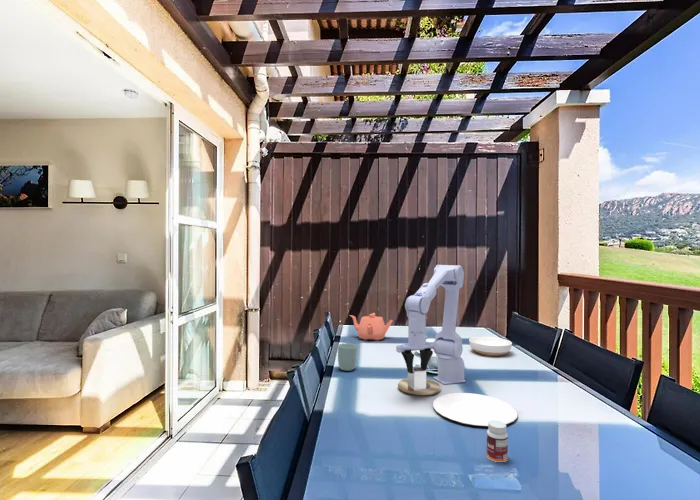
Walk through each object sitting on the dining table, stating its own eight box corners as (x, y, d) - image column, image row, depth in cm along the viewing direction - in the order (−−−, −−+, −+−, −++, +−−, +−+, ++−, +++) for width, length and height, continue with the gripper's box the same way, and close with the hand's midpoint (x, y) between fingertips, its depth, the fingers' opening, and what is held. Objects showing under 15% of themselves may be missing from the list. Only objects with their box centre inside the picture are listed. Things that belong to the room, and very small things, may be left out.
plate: (473, 438, 104) (473, 432, 104) (416, 405, 127) (416, 399, 127) (536, 420, 116) (536, 414, 116) (473, 392, 138) (473, 387, 138)
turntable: (410, 377, 150) (410, 367, 150) (447, 386, 141) (447, 375, 141) (389, 388, 138) (389, 377, 138) (428, 398, 129) (428, 387, 129)
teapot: (348, 337, 221) (348, 313, 221) (373, 333, 232) (374, 310, 232) (368, 344, 206) (369, 318, 206) (394, 339, 217) (394, 314, 217)
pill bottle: (483, 454, 96) (483, 419, 96) (501, 453, 96) (502, 419, 96) (491, 464, 91) (492, 428, 91) (511, 463, 92) (511, 428, 92)
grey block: (419, 383, 135) (419, 365, 135) (426, 388, 131) (426, 369, 130) (407, 385, 133) (407, 366, 133) (414, 390, 129) (414, 371, 129)
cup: (354, 373, 158) (354, 348, 158) (335, 371, 160) (336, 347, 160) (358, 367, 166) (358, 343, 166) (340, 366, 167) (340, 342, 167)
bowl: (515, 352, 193) (515, 339, 193) (507, 361, 176) (507, 348, 176) (474, 346, 203) (475, 334, 203) (464, 355, 186) (464, 342, 186)
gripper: (429, 327, 138) (429, 366, 138) (392, 330, 133) (392, 370, 133) (440, 331, 131) (440, 372, 131) (401, 334, 126) (401, 376, 127)
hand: (416, 371), depth 132 cm, fingers closed on grey block, 4 cm apart
